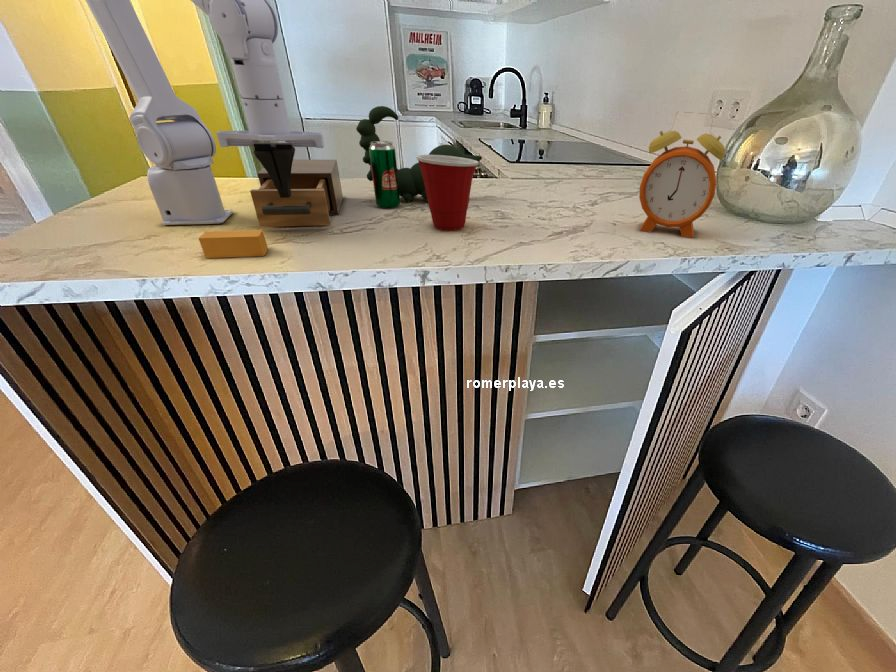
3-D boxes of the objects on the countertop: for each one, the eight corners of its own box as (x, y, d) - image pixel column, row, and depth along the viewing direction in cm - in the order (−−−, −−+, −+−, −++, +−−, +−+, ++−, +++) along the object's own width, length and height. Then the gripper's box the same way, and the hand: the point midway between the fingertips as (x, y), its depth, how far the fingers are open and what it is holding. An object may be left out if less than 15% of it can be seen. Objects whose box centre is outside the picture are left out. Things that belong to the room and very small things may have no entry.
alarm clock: (631, 230, 87) (654, 111, 76) (635, 222, 92) (657, 109, 80) (701, 240, 84) (737, 116, 72) (702, 231, 89) (735, 114, 77)
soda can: (387, 210, 92) (379, 144, 85) (371, 205, 94) (362, 141, 87) (405, 206, 95) (399, 142, 88) (390, 201, 97) (383, 139, 90)
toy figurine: (372, 212, 96) (487, 202, 98) (348, 110, 85) (479, 101, 87) (376, 201, 103) (483, 192, 106) (355, 106, 92) (475, 98, 94)
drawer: (327, 233, 75) (320, 196, 72) (254, 235, 73) (243, 197, 69) (335, 205, 90) (330, 174, 86) (274, 206, 87) (266, 174, 84)
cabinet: (338, 215, 87) (331, 173, 83) (268, 216, 85) (257, 173, 80) (343, 197, 99) (336, 159, 95) (281, 198, 96) (272, 159, 92)
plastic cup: (490, 227, 85) (491, 158, 78) (446, 239, 78) (443, 163, 71) (453, 215, 91) (450, 149, 84) (409, 225, 84) (403, 154, 77)
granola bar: (205, 258, 66) (198, 238, 64) (211, 251, 69) (204, 231, 67) (264, 256, 68) (258, 236, 66) (268, 249, 70) (262, 229, 69)
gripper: (198, 98, 61) (230, 203, 68) (312, 102, 64) (330, 201, 72) (213, 95, 66) (241, 192, 74) (317, 98, 69) (333, 191, 77)
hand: (285, 196), depth 73 cm, fingers closed
